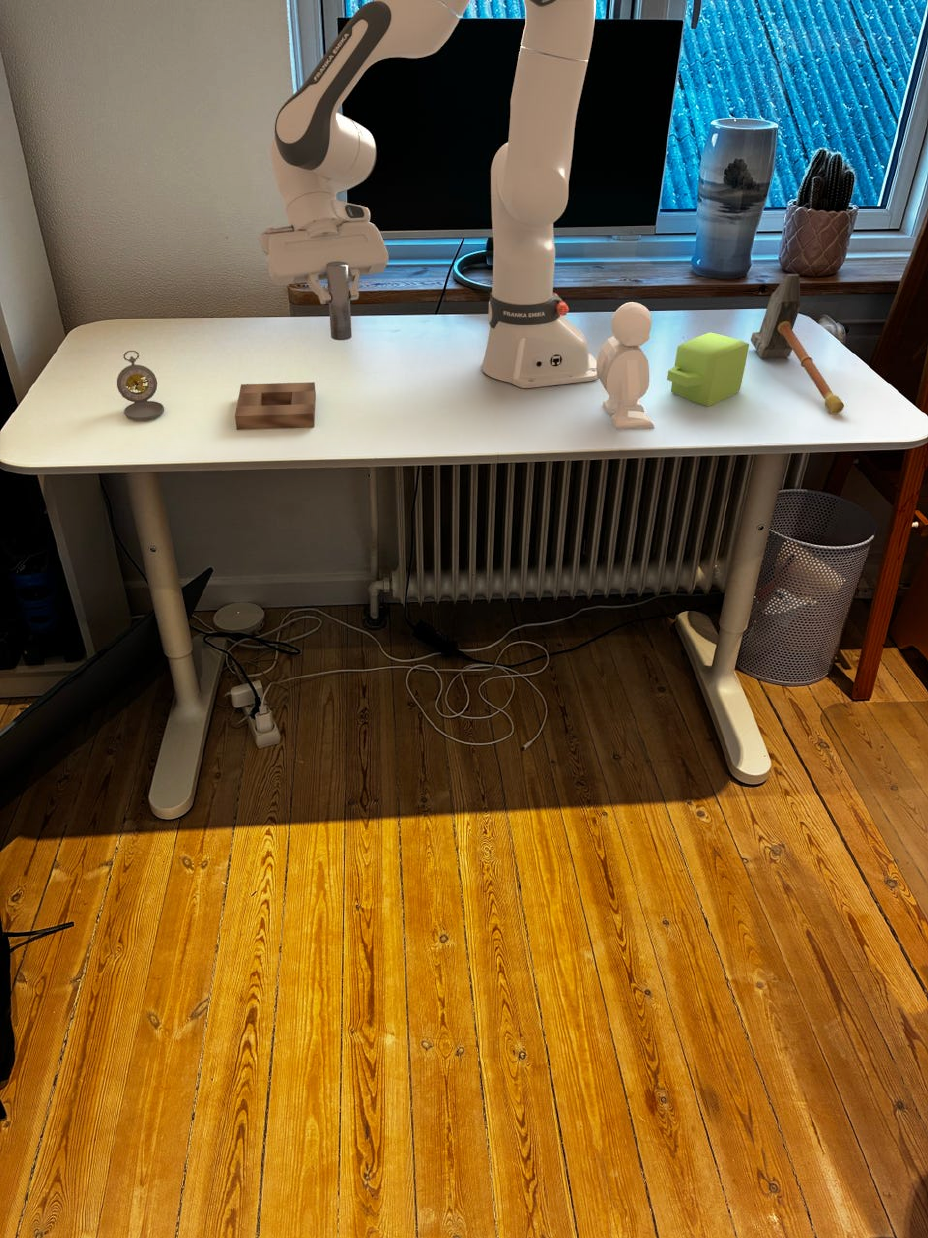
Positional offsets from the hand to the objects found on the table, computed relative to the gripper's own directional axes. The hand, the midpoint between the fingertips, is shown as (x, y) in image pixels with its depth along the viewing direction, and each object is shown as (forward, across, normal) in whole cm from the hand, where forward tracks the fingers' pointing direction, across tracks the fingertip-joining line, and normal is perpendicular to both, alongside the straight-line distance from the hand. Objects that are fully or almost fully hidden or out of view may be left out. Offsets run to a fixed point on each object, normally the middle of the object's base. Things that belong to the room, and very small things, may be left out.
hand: (340, 300), depth 158 cm
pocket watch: (+5, -33, +22) cm, 40 cm away
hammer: (+30, +82, -4) cm, 88 cm away
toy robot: (+30, +42, -4) cm, 52 cm away
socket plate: (+12, -12, +15) cm, 22 cm away
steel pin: (+4, 0, +5) cm, 6 cm away
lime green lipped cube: (+28, +63, -2) cm, 69 cm away
